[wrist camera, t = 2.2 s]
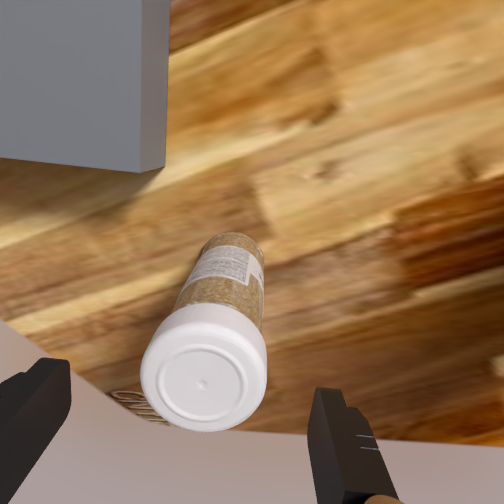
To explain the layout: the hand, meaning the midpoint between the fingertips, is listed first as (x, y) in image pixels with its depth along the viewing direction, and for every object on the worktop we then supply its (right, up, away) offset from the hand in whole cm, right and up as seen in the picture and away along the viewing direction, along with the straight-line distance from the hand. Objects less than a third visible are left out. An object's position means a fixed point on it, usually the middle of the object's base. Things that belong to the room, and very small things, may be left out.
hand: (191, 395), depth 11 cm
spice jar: (+1, +4, +14) cm, 14 cm away
